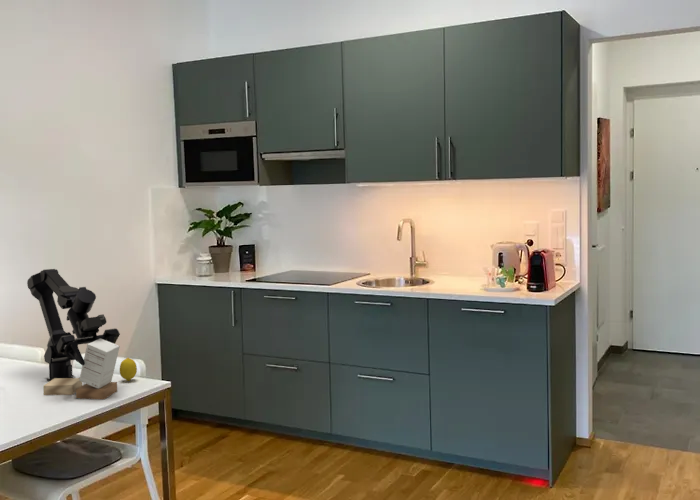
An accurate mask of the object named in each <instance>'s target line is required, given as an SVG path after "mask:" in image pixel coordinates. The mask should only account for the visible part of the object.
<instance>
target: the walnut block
mask: <svg viewBox="0 0 700 500" xmlns="http://www.w3.org/2000/svg"><path fill="white" fill-rule="evenodd" d="M117 392H118V382H117V381H111V382H110V383H108V384H106V385H105V386H103V387H101V388H99V389H98V388H95V387H93V386H90V385H88V384H86V383H83V384H82V386H81V387H79V388H77V389H76V392H75V393H76V394H75V399H76V398H80V400H106V399H107V398H109V397H110V396H112V395H113V394H115V393H117Z"/></svg>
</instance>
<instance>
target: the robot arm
mask: <svg viewBox="0 0 700 500" xmlns="http://www.w3.org/2000/svg"><path fill="white" fill-rule="evenodd" d="M26 285H27V289H28V290H29V291H30V293H31V295H32V297H33V298H35V299H36V300H37V301H38V303H39V306H40V309H41V312H42V315H43V318H44V322H45V325H46V329H47V332H48V336H49V337H48V338H49V339H48V342H47V344H46V347H47V348H46V350H45V353H44V355H43V360H44V363H47V364H48V369H49V370H48V372H49V373H48V374H49V377H47V378H46V381H48V382H50V381H51V380H52V379H54V378H75V377H74V376H75V375H74V374H73V365H72V361H76V362H77V363H79V364H80V365H81V366H82V365H84V364H85V363H84V357H83V355H82V353H81V351H80V349H79V345H87V344H89V343H91V342H93V341H96V340H98V339H103V340H106V341H108V342H111V343H114V344H116V342H117V341H118V339H119V337H120V335H121V333H120V331H119V329H117V328H110V329H104V330H103V331H104V332H103V334H99V332H100V328H102V327H103V326H104V325H106V324H107V317H106V316H105V314H98V315H97V316H91V317H89V315H88V314H89V313H90V312H91V310H92V308H93V306H94V303H95V301H96V298H97V296H96V293H95V292H93V291H92V290H90V289H88V288H87V286H79V288H78V287H75V286H70V284H69V283H68V281H66V280H65V279H64V277H62V276H61V274H60V273H59V271H58V269H56V268H48V269H43V270H41V271H40V272H37V273H35V274H33V275H31V276H30V277H29V278H28V279H27V282H26ZM54 294H55V295H56V297H57V305H58V306H59V307H60V308H61V310H67V312H66V313H67V314H66V321H69V322H70V325H71V327H72V331H71V332H72V333H71V332H70V331H69V332H66V330H64V326H63V323H62V321H61V317H60V313H59V310H58V307H57V305H56V301H55V298H54ZM75 336H76V338H75Z"/></svg>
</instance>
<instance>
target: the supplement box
mask: <svg viewBox="0 0 700 500" xmlns="http://www.w3.org/2000/svg"><path fill="white" fill-rule="evenodd" d="M119 351H120V345H118V344H116V343H115V344H114V343H111V342H108V341H106V340H103V339H98V340H96V341H93V342H91V343H88V344H86V348H85V352H84V357H83V359H84V363H85V364H84V365H81V371H80V376H79V378H80V379H79V381H81V382H82V384H88V385H90V386H93V387H95V388H98V389H99V388H101V387H103V386H105V385H106V384H108V383H110V382H113V381H112V380H113V377H114V372H115V369H116V364H117V359H118V356H119Z"/></svg>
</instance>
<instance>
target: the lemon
mask: <svg viewBox="0 0 700 500" xmlns="http://www.w3.org/2000/svg"><path fill="white" fill-rule="evenodd" d="M137 371H138V368H137V364H136V362H135V360H134V359H132V358H130V357H126V358H125V359H123V360H122V361H121V362H120V365H119V374H120V376H121V378H122V379H124V380H126V381H127V382H130V381H131V380H132V379H133V378H135V376H136V375H137Z"/></svg>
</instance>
